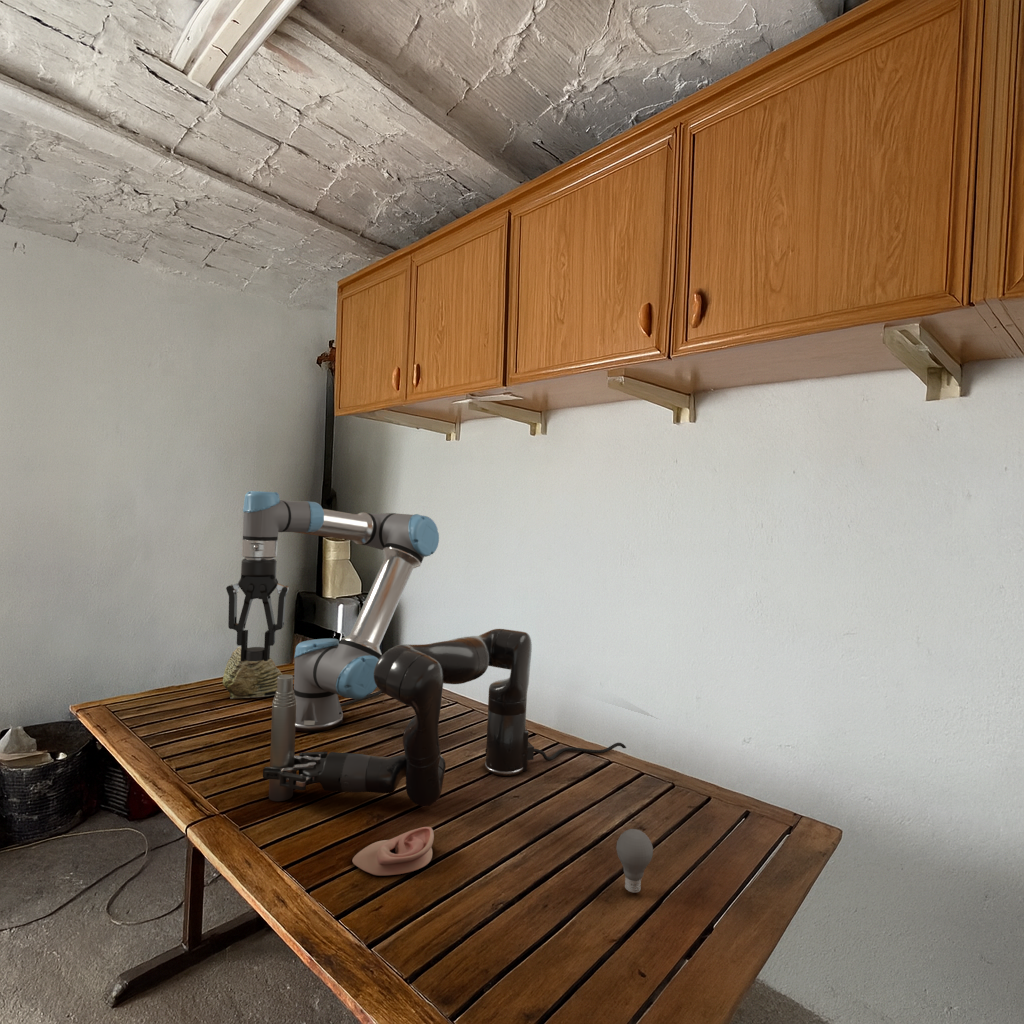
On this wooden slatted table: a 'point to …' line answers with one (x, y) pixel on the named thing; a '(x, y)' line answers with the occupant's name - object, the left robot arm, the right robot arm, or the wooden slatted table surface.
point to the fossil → (250, 677)
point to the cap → (254, 654)
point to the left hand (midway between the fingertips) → (255, 659)
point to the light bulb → (634, 857)
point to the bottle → (282, 735)
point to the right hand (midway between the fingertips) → (269, 767)
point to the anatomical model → (397, 853)
